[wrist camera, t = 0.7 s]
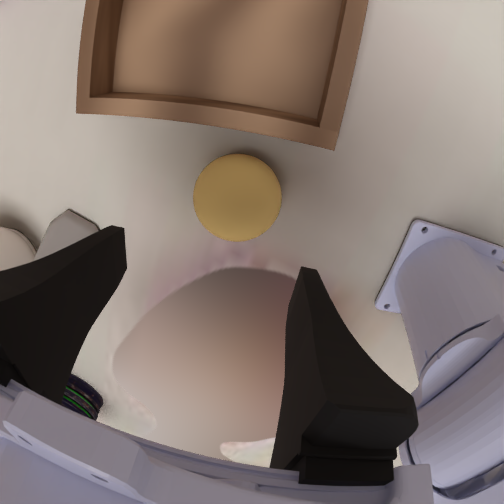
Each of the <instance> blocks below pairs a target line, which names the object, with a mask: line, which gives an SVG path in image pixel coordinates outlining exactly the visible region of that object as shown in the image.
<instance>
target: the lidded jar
mask: <svg viewBox="0 0 504 504" xmlns="http://www.w3.org/2000/svg"><path fill="white" fill-rule="evenodd" d="M36 253H37V252H36V250H35V248H34V247H33V245H32V244H31V242H30V241H29V240H28V239H27V238H26V237H25V236H24V235H23V234H22V233H21V232H19V231H18V230H15V229H8V228H4V227H0V271H2V270H6V269H10V268H13V267H17V266H20V265H23V264H27V263H30V262H32V261H33V260H34V258H35V256H36Z"/></svg>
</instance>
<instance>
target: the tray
mask: <svg viewBox="0 0 504 504" xmlns="http://www.w3.org/2000/svg"><path fill="white" fill-rule="evenodd" d="M367 5H368V0H86V4H85V11H84V17H83V24H82V32H81V41H80V50H79V62H78V76H77V99H76V113H79V114H103V115H119V116H133V117H144V118H155V119H164V120H173V121H181V122H189V123H196V124H203V125H210V126H217V127H223V128H229V129H235V130H241V131H247V132H252V133H257V134H262V135H268V136H272V137H277V138H282V139H287V140H291V141H296V142H300V143H305V144H309V145H313V146H317V147H321V148H325V149H329V150H333V151H334V149H335V146H336V142H337V138H338V134H339V130H340V126H341V122H342V118H343V114H344V110H345V106H346V102H347V98H348V94H349V89H350V85H351V81H352V77H353V72H354V68H355V63H356V59H357V54H358V50H359V45H360V40H361V35H362V31H363V26H364V21H365V16H366V11H367Z"/></svg>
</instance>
